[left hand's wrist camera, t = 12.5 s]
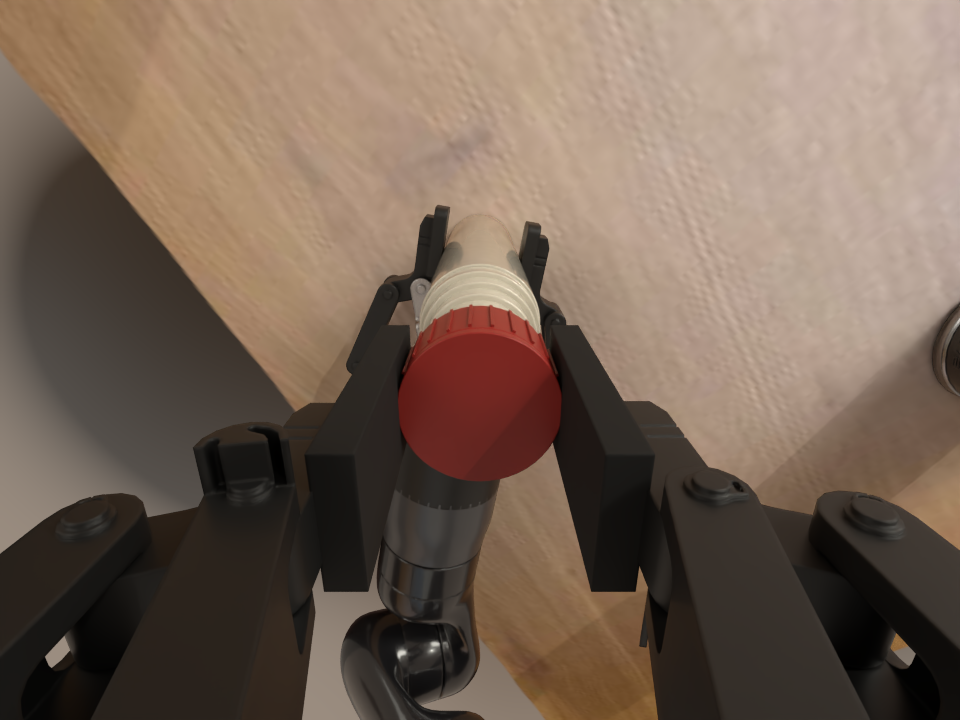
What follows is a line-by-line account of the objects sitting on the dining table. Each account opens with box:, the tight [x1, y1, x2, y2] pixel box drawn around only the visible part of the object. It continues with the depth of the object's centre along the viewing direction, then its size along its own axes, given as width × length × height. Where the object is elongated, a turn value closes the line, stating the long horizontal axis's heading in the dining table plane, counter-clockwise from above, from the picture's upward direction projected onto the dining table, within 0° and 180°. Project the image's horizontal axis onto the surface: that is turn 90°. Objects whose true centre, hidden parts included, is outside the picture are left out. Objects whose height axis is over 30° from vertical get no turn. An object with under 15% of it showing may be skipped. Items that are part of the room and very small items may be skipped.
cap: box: [398, 304, 562, 481], centre depth 13 cm, size 4×4×2 cm
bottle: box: [419, 215, 540, 333], centre depth 24 cm, size 4×4×24 cm
